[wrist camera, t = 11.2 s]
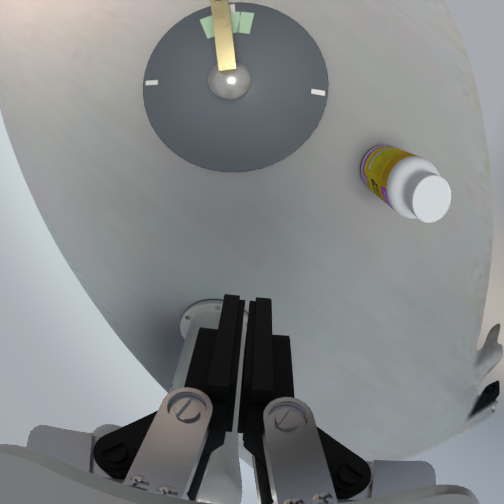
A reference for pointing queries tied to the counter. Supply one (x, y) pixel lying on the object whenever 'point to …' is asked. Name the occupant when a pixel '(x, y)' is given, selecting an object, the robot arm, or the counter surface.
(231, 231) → the counter surface
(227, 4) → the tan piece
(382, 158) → the supplement bottle
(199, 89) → the dial
